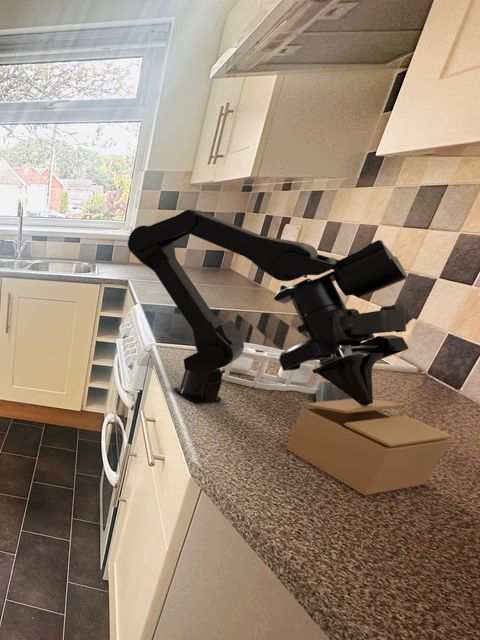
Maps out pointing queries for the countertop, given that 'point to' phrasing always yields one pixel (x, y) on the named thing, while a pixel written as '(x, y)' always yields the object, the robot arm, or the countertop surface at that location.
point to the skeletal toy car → (288, 377)
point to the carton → (368, 448)
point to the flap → (353, 405)
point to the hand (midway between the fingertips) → (367, 404)
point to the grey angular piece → (330, 393)
